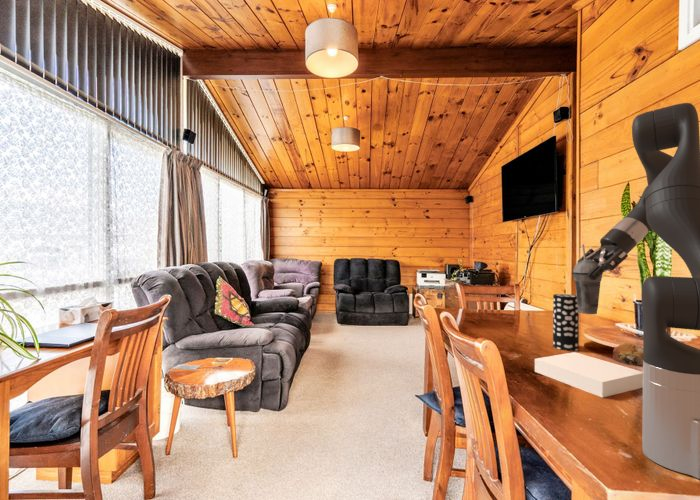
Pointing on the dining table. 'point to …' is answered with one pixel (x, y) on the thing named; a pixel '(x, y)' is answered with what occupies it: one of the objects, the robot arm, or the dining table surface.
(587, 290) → the beverage cup
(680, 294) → the robot arm
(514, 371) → the dining table surface
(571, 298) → the spotted tube
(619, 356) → the bread roll
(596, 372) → the shelf board
